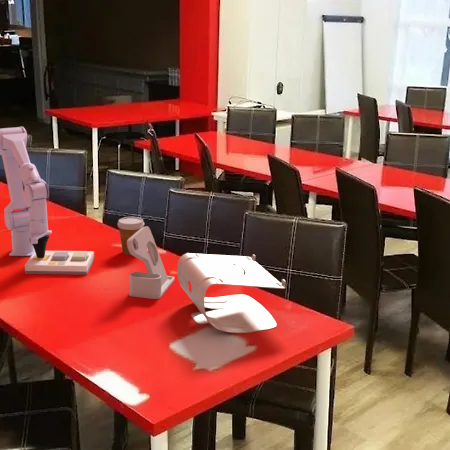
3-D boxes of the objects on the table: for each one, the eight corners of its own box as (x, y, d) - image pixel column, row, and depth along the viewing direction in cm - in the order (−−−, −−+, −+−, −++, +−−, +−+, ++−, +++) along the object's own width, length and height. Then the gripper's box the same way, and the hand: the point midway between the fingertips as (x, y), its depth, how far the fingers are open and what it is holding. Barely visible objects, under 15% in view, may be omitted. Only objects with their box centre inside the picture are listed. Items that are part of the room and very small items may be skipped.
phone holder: (158, 299, 193) (158, 243, 188) (126, 296, 195) (125, 239, 190) (175, 278, 209) (175, 225, 204) (145, 275, 211) (145, 223, 206)
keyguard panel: (36, 258, 224) (35, 249, 223) (94, 259, 224) (93, 250, 223) (25, 273, 210) (24, 264, 209) (86, 274, 211) (86, 265, 210)
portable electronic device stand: (176, 302, 192) (176, 253, 187) (249, 292, 200) (251, 245, 195) (204, 340, 169) (205, 285, 164) (285, 328, 177) (288, 275, 173)
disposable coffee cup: (112, 253, 230) (111, 221, 227) (128, 246, 238) (127, 215, 235) (134, 258, 226) (134, 225, 223) (150, 250, 234) (149, 219, 231)
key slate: (55, 257, 219) (55, 251, 218) (68, 257, 219) (68, 251, 218) (52, 261, 214) (52, 256, 214) (65, 262, 215) (65, 256, 214)
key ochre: (36, 260, 219) (35, 254, 218) (49, 260, 219) (48, 255, 218) (32, 265, 215) (32, 259, 214) (46, 265, 215) (45, 259, 214)
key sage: (74, 257, 219) (74, 252, 218) (87, 257, 219) (87, 252, 218) (72, 262, 215) (71, 256, 214) (85, 262, 215) (85, 256, 214)
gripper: (45, 225, 205) (47, 265, 209) (55, 212, 219) (57, 250, 223) (22, 224, 205) (25, 264, 209) (34, 212, 219) (37, 250, 223)
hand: (40, 257), depth 216 cm, fingers closed, pressing on key ochre
